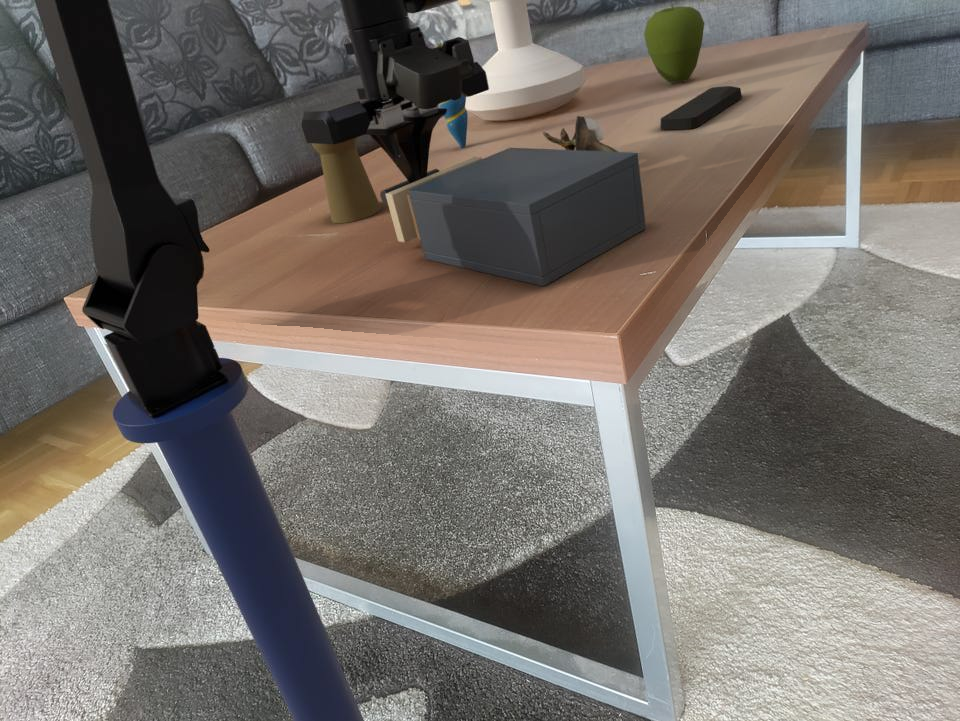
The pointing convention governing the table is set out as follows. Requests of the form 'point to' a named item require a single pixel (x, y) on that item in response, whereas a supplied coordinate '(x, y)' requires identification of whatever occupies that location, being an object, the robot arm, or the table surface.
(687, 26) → the apple
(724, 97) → the remote control
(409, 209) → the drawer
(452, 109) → the ornament
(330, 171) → the cork
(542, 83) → the candle holder
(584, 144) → the eagle figurine
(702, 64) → the table surface
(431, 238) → the cabinet
